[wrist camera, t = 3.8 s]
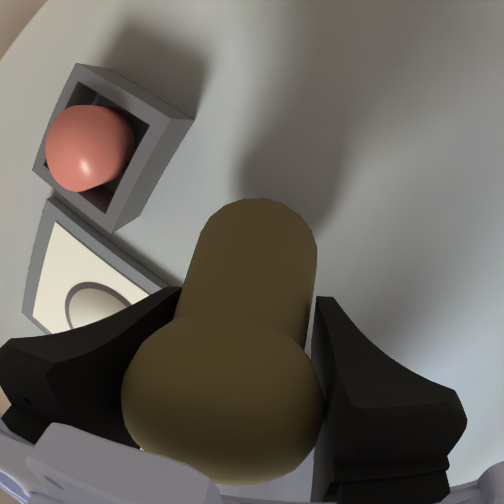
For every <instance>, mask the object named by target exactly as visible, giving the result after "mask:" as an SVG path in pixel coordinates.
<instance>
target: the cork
mask: <svg viewBox="0 0 504 504" xmlns="http://www.w3.org/2000/svg"><path fill="white" fill-rule="evenodd" d="M316 267H317V246H316V243H315V240H314V237H313V234H312V231H311V229H310V228H309V227H308V226H307V224H306V223H305V222H304V220H303V219H302V218H301V216H300V215H298V214H297V213H295V212H294V211H293V210H291V209H290V208H288V207H287V206H285V205H284V204H281V203H277V202H274V201H271V200H267V199H264V198H260V199H242V200H239V201H236V202H233V203H230V204H227V205H225V206H223V207H222V208H221V209H220V210H218V211H217V212H216V213H215V214H213V215H212V216H211V217H210V218H209V220H208V221H207V223H206V225H205V226H204V228H203V229H202V231H201V233H200V236H199V239H198V242H197V245H196V248H195V251H194V254H193V257H192V260H191V263H190V266H189V269H188V272H187V275H186V278H185V282H184V285H183V288H182V291H181V294H180V297H179V301H178V304H177V307H176V310H175V314H174V317H173V320H172V321H171V322H169V323H168V324H166V325H165V326H163V327H162V328H160V329H159V330H157V331H156V332H155V333H153V334H152V335H151V336H150V337H149V338H147V339H146V340H145V341H144V342H143V343H142V344H141V346H140V348H139V349H138V351H137V353H136V354H135V356H134V358H133V359H132V361H131V363H130V365H129V366H128V368H127V370H126V372H125V374H124V377H123V382H122V387H121V407H122V413H123V418H124V423H125V426H126V428H127V430H128V432H129V433H130V435H131V437H132V438H133V440H134V441H135V442H136V443H137V444H138V445H139V446H140V447H141V448H142V449H143V450H144V451H147V452H150V453H154V454H158V455H162V456H165V457H168V458H171V459H174V460H177V461H180V462H183V463H186V464H188V465H190V466H192V467H194V468H195V469H197V470H199V471H201V472H203V473H204V474H206V475H208V477H209V478H210V479H211V480H212V482H213V483H214V484H221V485H230V486H236V485H254V484H259V483H264V482H268V481H272V480H275V479H278V478H280V477H282V476H284V475H286V474H288V473H290V472H292V471H294V470H296V469H297V467H298V466H299V465H300V464H301V463H302V462H303V461H304V460H305V459H306V457H307V456H308V455H309V454H310V452H311V451H312V450H313V448H314V447H315V446H316V444H317V441H318V437H319V433H320V430H321V425H322V420H323V415H324V398H323V391H322V388H321V385H320V382H319V380H318V377H317V374H316V371H315V369H314V367H313V365H312V362H311V360H310V358H309V356H308V355H307V354H306V353H305V352H304V349H305V343H306V337H307V331H308V324H309V318H310V311H311V304H312V297H313V290H314V282H315V275H316Z"/></svg>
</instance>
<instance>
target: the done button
mask: <svg viewBox="0 0 504 504" xmlns="http://www.w3.org/2000/svg"><path fill="white" fill-rule="evenodd" d="M134 148H135V137H134V131H133V128H132V125H131V123H130V121H129V119H128V118H127V116H126V115H125V114H124V113H123V112H122V111H120V110H119V109H117V108H115V107H112V106H102V105H75V106H71V107H69V108H67V109H65V110H63V111H62V112H61V113H60V114H59V115H58V116H57V117H56V118H55V120H54V121H53V123H52V125H51V127H50V129H49V132H48V135H47V139H46V160H47V164H48V167H49V170H50V172H51V174H52V176H53V177H54V179H55V180H56V181H57V183H59V184H60V185H61V186H62V187H64V188H65V189H67V190H70V191H75V192H80V191H85V190H87V189H90V188H93V187H95V186H98V185H101V184H103V183H106V182H109V181H112V180H114V179H116V178H118V177H119V176H120V175H122V174H123V173H124V172H125V170H126V169H127V168H128V166H129V164H130V162H131V160H132V157H133V154H134Z"/></svg>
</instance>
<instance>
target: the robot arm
mask: <svg viewBox="0 0 504 504" xmlns="http://www.w3.org/2000/svg"><path fill="white" fill-rule="evenodd" d="M182 288H183V287H171V286H168V287H165V288H163V289H161V290H159V291H157V292H155V293H153V294H151V295H149V296H147V297H146V298H144V299H142V300H140V301H138V302H136V303H135V304H133V305H131V306H129V307H127V308H125V309H123V310H121V311H119V312H117V313H115V314H113V315H111V316H108V317H106V318H104V319H101V320H99V321H96V322H93V323H91V324H88V325H85V326H82V327H78V328H75V329H71V330H68V331H64V332H59V333H55V334H49V335H43V336H36V337H25V338H11V339H10V340H8V341H7V342H6V343H5V344H4V345H3V346H2V347H1V348H0V386H1V388H2V390H3V391H4V393H5V395H6V396H7V398H8V400H9V401H10V403H11V404H12V405H11V406H10V407H9V409H8V410H7V411H6V412H5V413H4V415H2V414H1V413H0V488H2V489H3V490H4V491H6V492H7V493H8V494H10V495H11V496H12V497H14V498H15V499H16V500H18V501H19V502H21V503H22V504H504V461H502V462H499V463H497V464H495V465H493V466H491V467H489V468H488V469H487V470H486V471H485V472H484V473H483V474H482V475H481V476H480V477H479V479H478V480H476V481H472V482H469V483H465V484H461V485H457V486H453V487H449V483H448V479H447V475H446V470H448V469H449V466H450V464H449V461H448V457H447V455H448V454H449V453H450V452H451V450H452V449H453V448H454V446H455V445H456V443H457V442H458V441H459V439H460V438H461V436H462V435H463V433H464V431H465V429H466V426H467V417H466V414H465V412H464V409H463V406H462V404H461V401H460V399H459V397H458V395H457V393H456V392H455V390H453V389H450V388H448V387H445V386H442V385H440V384H437V383H435V382H432V381H430V380H428V379H426V378H424V377H422V376H420V375H418V374H416V373H414V372H412V371H411V370H409V369H407V368H405V367H404V366H402V365H401V364H399V363H398V362H396V361H395V360H393V359H392V358H390V357H389V356H388V355H386V354H385V353H384V352H383V351H381V350H380V349H379V348H378V347H377V346H375V345H374V344H373V343H372V342H371V341H370V340H369V339H368V338H367V337H366V336H365V335H364V334H363V333H362V332H361V331H360V330H359V329H358V328H357V327H356V326H355V324H354V323H353V322H352V321H351V320H350V318H349V317H348V316H347V315H346V313H345V312H344V311H343V309H342V308H341V307H340V305H339V304H338V303H337V301H336V300H335V299H334V297H323V296H316V306H315V315H314V324H313V333H312V341H311V362H312V365H313V367H314V369H315V371H316V374H317V377H318V380H319V382H320V385H321V388H322V391H323V398H324V415H323V420H322V425H321V430H320V433H319V437H318V441H317V444H316V446H315V447H314V448H313V450H312V451H311V452H310V454H309V455H308V456H307V457H306V459H305V460H304V461H303V462H302V463H301V464H300V465H299V466H298V467H297V469H296V470H294V471H292V472H290V473H288V474H286V475H284V476H282V477H280V478H278V479H275V480H272V481H268V482H264V483H259V484H254V485H236V486H230V485H221V484H214V483H213V482H212V480H211V479H210V478H209V477H208V475H206V474H204V473H203V472H201V471H199V470H197V469H195V468H194V467H192V466H190V465H188V464H186V463H183V462H180V461H177V460H174V459H171V458H168V457H165V456H162V455H158V454H154V453H150V452H147V451H143V450H140V446H139V445H138V444H137V443H136V442H135V441H134V440H133V438H132V437H131V435H130V433H129V432H128V430H127V428H126V426H125V423H124V418H123V413H122V407H121V387H122V382H123V377H124V374H125V372H126V370H127V368H128V366H129V365H130V363H131V361H132V359H133V358H134V356H135V354H136V353H137V351H138V349H139V348H140V346H141V344H142V343H143V342H144V341H145V340H146V339H147V338H149V337H150V336H151V335H152V334H153V333H155V332H156V331H157V330H159V329H160V328H162V327H163V326H165V325H166V324H168V323H169V322H171V321H172V320H173V317H174V314H175V310H176V307H177V304H178V301H179V297H180V294H181V291H182Z"/></svg>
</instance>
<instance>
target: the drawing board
mask: <svg viewBox="0 0 504 504" xmlns="http://www.w3.org/2000/svg"><path fill="white" fill-rule="evenodd" d="M168 286H169V285H168V284H167V283H165V282H164V281H162V280H161V279H160V278H158V277H157V276H155V275H154V274H153V273H151V272H150V271H148V270H147V269H146V268H144V267H143V266H142V265H140V264H139V263H137V262H136V261H135V260H133V259H132V258H131V257H129V256H128V255H127V254H125V253H124V252H123V251H121V250H120V249H119V248H117V247H116V246H115V245H113V244H112V243H111V242H110V241H108V240H107V239H106V238H104V237H103V236H102V235H100V234H99V233H98V232H97V231H95V230H94V229H93V228H92V227H90V226H89V225H88V224H86V223H85V222H84V221H83V220H81V219H80V218H79V217H78V216H77V215H75V214H74V213H73V212H72V211H70V210H69V209H68V208H67V207H65V206H64V205H63V204H62V203H61V202H59V201H58V200H57V199H56V198H55V197H50V198H48V199H46V202H45V206H44V209H43V213H42V216H41V220H40V223H39V227H38V231H37V235H36V239H35V243H34V247H33V252H32V256H31V261H30V266H29V271H28V276H27V281H26V287H25V293H24V300H23V306H22V313H23V314H24V315H25V316H26V317H27V318H28V319H30V320H31V321H32V322H33V323H34V324H35V325H36V326H37V327H38V328H39V329H41V330H42V331H43V332H44V333H45V334H46V335H49V334H55V333H59V332H64V331H68V330H71V329H75V328H78V327H82V326H85V325H88V324H91V323H93V322H96V321H99V320H101V319H104V318H106V317H108V316H111V315H113V314H115V313H117V312H119V311H121V310H123V309H125V308H127V307H129V306H131V305H133V304H135V303H136V302H138V301H140V300H142V299H144V298H146V297H147V296H149V295H151V294H153V293H155V292H157V291H159V290H161V289H163V288H165V287H168Z"/></svg>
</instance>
